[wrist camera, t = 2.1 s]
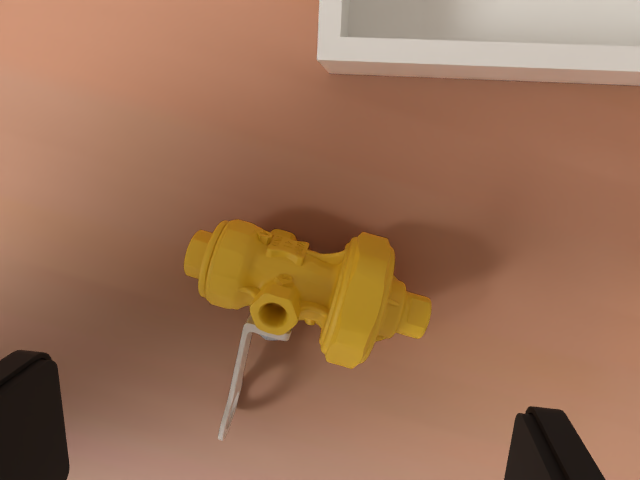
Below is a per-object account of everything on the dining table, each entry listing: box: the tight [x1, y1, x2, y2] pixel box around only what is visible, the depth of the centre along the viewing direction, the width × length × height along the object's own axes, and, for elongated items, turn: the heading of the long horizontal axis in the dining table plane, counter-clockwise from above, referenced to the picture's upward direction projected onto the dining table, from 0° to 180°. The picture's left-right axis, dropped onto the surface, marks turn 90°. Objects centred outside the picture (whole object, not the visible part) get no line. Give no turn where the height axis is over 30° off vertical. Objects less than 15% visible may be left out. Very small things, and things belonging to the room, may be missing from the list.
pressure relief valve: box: [184, 219, 432, 441], centre depth 21 cm, size 6×12×10 cm
